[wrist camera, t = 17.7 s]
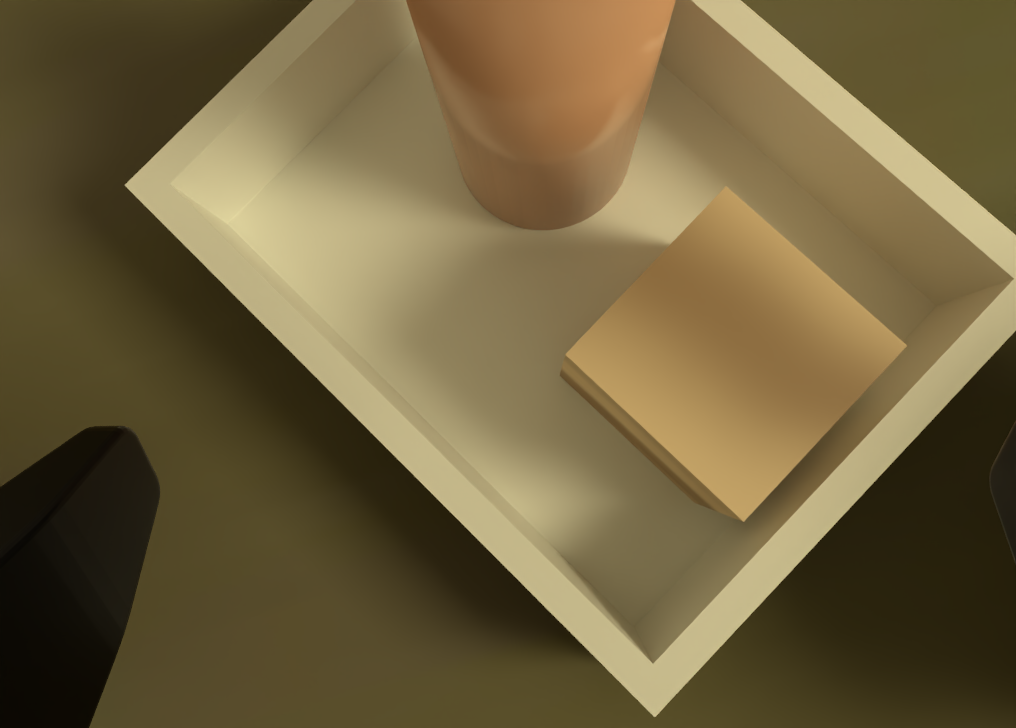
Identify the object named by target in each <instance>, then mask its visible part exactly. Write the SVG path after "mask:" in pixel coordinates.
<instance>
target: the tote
mask: <svg viewBox="0 0 1016 728" xmlns="http://www.w3.org/2000/svg"><path fill="white" fill-rule="evenodd" d="M125 186H126V187H127V188H128V189H129V190H130V191H131V192H132V193H133V194H134V195H135V196H136V197H137V198H138V199H139V200H140V201H141V202H142V203H143V204H144V205H145V206H146V207H147V208H148V209H149V210H150V211H151V212H152V213H153V214H154V215H155V216H156V217H157V218H158V219H159V220H160V221H161V222H162V223H163V224H164V225H165V226H166V227H167V228H168V229H169V230H170V231H171V232H172V233H173V234H174V235H175V236H176V237H177V238H178V239H179V240H180V241H181V242H182V243H183V244H184V245H185V246H186V247H187V248H188V249H189V250H190V251H191V252H192V253H193V254H194V255H195V256H196V257H197V258H198V259H199V260H200V261H201V262H202V263H203V265H204V266H205V267H206V268H207V269H208V270H209V271H210V272H211V273H212V274H213V275H214V276H215V277H216V278H217V279H218V280H219V281H220V282H221V283H222V284H223V285H224V286H225V287H226V288H227V289H228V290H229V291H230V292H231V293H232V294H233V295H234V296H235V297H236V298H237V299H238V300H239V301H240V302H241V303H242V304H243V305H244V306H245V307H246V308H247V309H248V310H249V311H250V312H251V313H252V314H253V315H254V316H255V317H256V318H257V319H258V320H259V321H260V322H261V323H262V324H263V325H264V326H265V327H266V328H267V329H268V330H269V331H270V332H271V333H272V334H273V335H274V336H275V337H276V338H277V339H278V340H279V341H280V342H281V343H282V344H283V345H284V346H285V347H286V348H287V349H288V350H289V351H290V352H291V353H292V354H293V355H294V356H295V357H296V358H297V359H298V360H299V361H300V362H301V363H302V364H303V365H304V366H305V367H306V368H307V369H308V370H309V371H310V372H311V373H312V374H313V375H314V376H315V377H316V378H317V379H318V380H319V381H320V382H321V383H322V384H323V385H324V386H325V387H326V388H327V389H328V390H329V391H330V392H331V393H332V394H333V395H334V396H335V397H336V398H337V399H338V400H339V401H340V402H341V403H342V404H343V405H344V406H345V407H346V408H347V409H348V410H349V411H350V412H351V413H352V414H353V415H354V416H355V417H356V418H357V419H358V420H359V421H360V422H361V423H362V424H363V425H364V426H365V427H366V428H367V429H368V430H369V431H370V432H371V433H372V434H373V435H374V436H375V437H376V438H377V439H378V440H379V441H380V442H381V443H382V444H383V445H384V446H385V447H386V448H387V449H388V450H389V451H390V452H391V453H392V454H393V455H394V456H395V457H396V458H397V459H398V460H399V461H400V462H401V463H402V464H403V465H404V466H405V467H406V468H407V469H408V470H409V471H410V472H411V473H412V474H413V475H414V476H415V477H416V478H417V479H418V480H419V481H420V482H421V483H422V484H423V485H424V486H425V487H426V488H427V489H428V490H429V491H430V492H431V493H432V494H433V495H434V496H435V497H436V498H437V499H438V500H439V501H440V502H441V503H442V504H443V505H444V506H445V507H446V508H447V509H448V510H449V511H450V512H451V513H452V514H453V515H454V516H455V517H456V518H457V519H458V520H459V521H460V522H461V523H462V524H463V525H464V526H465V527H466V528H467V529H468V530H469V531H470V532H471V533H472V534H473V535H474V536H475V537H476V538H477V539H478V540H479V541H480V542H481V543H482V544H483V545H484V546H485V547H486V548H487V549H488V550H489V551H490V552H491V553H492V554H493V555H494V556H495V557H496V558H497V559H498V560H499V561H500V562H501V563H502V564H503V565H504V566H505V567H506V568H507V569H508V570H509V571H510V572H511V573H512V574H513V575H514V576H515V577H516V578H517V579H518V580H519V581H520V583H521V584H522V585H523V586H524V587H525V588H526V589H527V590H528V591H529V592H530V593H531V594H532V595H533V596H534V597H535V598H536V599H537V600H538V601H539V602H540V603H541V604H542V605H543V606H544V607H545V608H546V609H547V610H548V611H549V612H550V613H551V614H552V615H553V616H554V617H555V618H556V619H557V620H558V621H559V622H560V623H561V624H562V625H563V626H564V627H565V628H566V629H567V630H568V631H569V632H570V633H571V634H572V635H573V636H574V637H575V638H576V639H577V640H578V641H579V642H580V643H581V644H582V645H583V646H584V647H585V648H586V649H587V650H588V651H589V652H590V653H591V654H592V655H593V656H594V657H595V658H596V659H597V660H598V661H599V662H600V663H601V664H602V665H603V666H604V667H605V668H606V669H607V670H608V671H609V672H610V673H611V674H612V675H613V676H614V677H615V678H616V679H617V680H618V681H619V682H620V683H621V684H622V685H623V686H624V687H625V688H626V689H627V690H628V691H629V692H630V693H631V694H632V695H633V696H634V697H635V698H636V699H637V700H638V701H639V702H640V703H641V704H642V705H643V706H644V707H645V708H646V709H647V710H648V711H649V712H650V713H651V714H652V715H653V716H654V717H656V715H657V714H658V713H659V712H660V711H661V710H662V709H663V708H664V707H665V706H666V705H667V704H668V703H669V702H670V700H671V699H672V698H673V697H674V696H675V695H676V694H677V693H678V692H679V691H680V690H681V689H682V688H683V687H684V685H685V684H686V683H687V682H688V681H689V680H690V679H691V678H692V677H693V676H694V675H695V674H696V673H697V672H698V670H699V669H700V668H701V667H702V666H703V665H704V664H705V663H706V662H707V661H708V660H709V659H710V658H711V657H712V655H713V654H714V653H715V652H716V651H717V650H718V649H719V648H720V647H721V646H722V645H723V644H724V643H725V642H726V640H727V639H728V638H729V637H730V636H731V635H732V634H733V633H734V632H735V631H736V630H737V629H738V628H739V626H740V625H741V624H742V623H743V622H744V621H745V620H746V619H747V618H748V617H749V616H750V615H751V614H752V613H753V611H754V610H755V609H756V608H757V607H758V606H759V605H760V604H761V603H762V602H763V601H764V600H765V599H766V598H767V596H768V595H769V594H770V593H771V592H772V591H773V590H774V589H775V588H776V587H777V586H778V585H779V584H780V583H781V581H782V580H783V579H784V578H785V577H786V576H787V575H788V574H789V573H790V572H791V571H792V570H793V569H794V568H795V566H796V565H797V564H798V563H799V562H800V561H801V560H802V559H803V558H804V557H805V556H806V555H807V554H808V553H809V551H810V550H811V549H812V548H813V547H814V546H815V545H816V544H817V543H818V542H819V541H820V540H821V539H822V538H823V536H824V535H825V534H826V533H827V532H828V531H829V530H830V529H831V528H832V527H833V526H834V525H835V524H836V523H837V521H838V520H839V519H840V518H841V517H842V516H843V515H844V514H845V513H846V512H847V511H848V510H849V509H850V508H851V506H852V505H853V504H854V503H855V502H856V501H857V500H858V499H859V498H860V497H861V496H862V495H863V494H864V493H865V491H866V490H867V489H868V488H869V487H870V486H871V485H872V484H873V483H874V482H875V481H876V480H877V479H878V478H879V476H880V475H881V474H882V473H883V472H884V471H885V470H886V469H887V468H888V467H889V466H890V465H891V464H892V463H893V461H894V460H895V459H896V458H897V457H898V456H899V455H900V454H901V453H902V452H903V451H904V450H905V449H906V448H907V446H908V445H909V444H910V443H911V442H912V441H913V440H914V439H915V438H916V437H917V436H918V435H919V434H920V433H921V431H922V430H923V429H924V428H925V427H926V426H927V425H928V424H929V423H930V422H931V421H932V420H933V419H934V418H935V416H936V415H937V414H938V413H939V412H940V411H941V410H942V409H943V408H944V407H945V406H946V405H947V404H948V403H949V401H950V400H951V399H952V398H953V397H954V396H955V395H956V394H957V393H958V392H959V391H960V390H961V389H962V388H963V386H964V385H965V384H966V383H967V382H968V381H969V380H970V379H971V378H972V377H973V376H974V375H975V374H976V373H977V371H978V370H979V369H980V368H981V367H982V366H983V365H984V364H985V363H986V362H987V361H988V360H989V359H990V358H991V356H992V355H993V354H994V353H995V352H996V351H997V350H998V349H999V348H1000V347H1001V346H1002V345H1003V344H1004V343H1005V341H1006V340H1007V339H1008V338H1009V337H1010V336H1011V335H1012V334H1013V333H1014V332H1015V331H1016V235H1015V234H1014V233H1012V232H1011V231H1010V230H1009V229H1008V228H1007V227H1005V226H1004V225H1003V224H1002V223H1001V222H1000V221H998V220H997V219H996V218H995V217H994V216H992V215H991V214H990V213H989V212H988V211H987V210H985V209H984V208H983V207H982V206H981V205H980V204H978V203H977V202H976V201H975V200H974V199H973V198H971V197H970V196H969V195H968V194H967V193H966V192H964V191H963V190H962V189H961V188H960V187H959V186H957V185H956V184H955V183H954V182H953V181H952V180H950V179H949V178H948V177H947V176H946V175H944V174H943V173H942V172H941V171H940V170H939V169H937V168H936V167H935V166H934V165H933V164H932V163H930V162H929V161H928V160H927V159H926V158H925V157H923V156H922V155H921V154H920V153H919V152H918V151H916V150H915V149H914V148H913V147H912V146H911V145H909V144H908V143H907V142H906V141H905V140H904V139H902V138H901V137H900V136H899V135H898V134H896V133H895V132H894V131H893V130H892V129H891V128H889V127H888V126H887V125H886V124H885V123H884V122H882V121H881V120H880V119H879V118H878V117H877V116H875V115H874V114H873V113H872V112H871V111H870V110H868V109H867V108H866V107H865V106H864V105H863V104H861V103H860V102H859V101H858V100H857V99H856V98H854V97H853V96H852V95H851V94H850V93H848V92H847V91H846V90H845V89H844V88H843V87H841V86H840V85H839V84H838V83H837V82H836V81H834V80H833V79H832V78H831V77H830V76H829V75H827V74H826V73H825V72H824V71H823V70H822V69H820V68H819V67H818V66H817V65H816V64H815V63H813V62H812V61H811V60H810V59H809V58H807V57H806V56H805V55H804V54H803V53H802V52H800V51H799V50H798V49H797V48H796V47H795V46H793V45H792V44H791V43H790V42H789V41H788V40H786V39H785V38H784V37H783V36H782V35H781V34H779V33H778V32H777V31H776V30H775V29H774V28H772V27H771V26H770V25H769V24H768V23H767V22H765V21H764V20H763V19H762V18H761V17H759V16H758V15H757V14H756V13H755V12H754V11H752V10H751V9H750V8H749V7H748V6H747V5H745V4H744V3H743V2H742V1H741V0H676V1H675V4H674V8H673V11H672V15H671V19H670V22H669V26H668V29H667V33H666V36H665V40H664V43H663V47H662V51H661V54H660V58H659V61H658V65H657V68H656V72H655V76H654V79H653V83H652V86H651V90H650V93H649V97H648V100H647V104H646V108H645V111H644V115H643V118H642V122H641V125H640V129H639V133H638V136H637V140H636V143H635V147H634V150H633V154H632V157H631V161H630V165H629V168H628V171H627V174H626V176H625V179H624V181H623V183H622V185H621V186H620V188H619V190H618V191H617V193H616V194H615V195H614V197H613V198H612V199H611V200H610V201H609V202H608V203H607V204H606V205H605V206H604V207H603V208H602V209H601V210H600V211H598V212H597V213H596V214H594V215H593V216H591V217H589V218H588V219H586V220H584V221H582V222H580V223H577V224H575V225H572V226H569V227H565V228H561V229H554V230H532V229H525V228H521V227H517V226H514V225H511V224H509V223H507V222H504V221H502V220H500V219H499V218H497V217H495V216H494V215H492V214H491V213H490V212H488V211H487V210H486V209H485V208H483V206H482V205H481V204H480V203H479V202H478V201H477V200H476V199H475V198H474V196H473V195H472V194H471V192H470V191H469V189H468V187H467V185H466V184H465V182H464V179H463V177H462V174H461V171H460V168H459V165H458V162H457V159H456V156H455V153H454V149H453V146H452V143H451V140H450V137H449V134H448V131H447V128H446V124H445V121H444V118H443V115H442V112H441V109H440V106H439V102H438V99H437V96H436V93H435V90H434V87H433V84H432V80H431V77H430V74H429V71H428V68H427V65H426V62H425V59H424V55H423V52H422V49H421V46H420V43H419V40H418V37H417V33H416V30H415V27H414V24H413V21H412V18H411V15H410V11H409V8H408V5H407V2H406V0H313V1H312V2H311V3H309V4H308V5H307V6H306V7H305V8H304V9H303V10H302V11H301V12H300V13H299V14H298V15H297V16H296V17H295V18H294V19H293V20H292V21H291V22H290V23H289V24H288V25H287V26H286V27H285V28H284V29H283V30H282V31H281V32H280V33H279V34H278V35H277V36H276V37H275V38H274V39H273V40H272V41H271V42H270V43H269V44H268V45H267V46H266V47H265V48H264V49H263V50H262V51H261V52H260V53H259V54H258V55H257V56H256V57H254V58H253V59H252V60H251V61H250V62H249V63H248V64H247V65H246V66H245V67H244V68H243V69H242V70H241V71H240V72H239V73H238V74H237V75H236V76H235V77H234V78H233V79H232V80H231V81H230V82H229V83H228V84H227V85H226V86H225V87H224V88H223V89H222V90H221V91H220V92H219V93H218V94H217V95H216V96H215V97H214V98H213V99H212V100H211V101H210V102H209V103H208V104H207V105H206V106H205V107H204V108H203V109H202V110H201V111H200V112H198V113H197V114H196V115H195V116H194V117H193V118H192V119H191V120H190V121H189V122H188V123H187V124H186V125H185V126H184V127H183V128H182V129H181V130H180V131H179V132H178V133H177V134H176V135H175V136H174V137H173V138H172V139H171V140H170V141H169V142H168V143H167V144H166V145H165V146H164V147H163V148H162V149H161V150H160V151H159V152H158V153H157V154H156V155H155V156H154V157H153V158H152V159H151V160H150V161H149V162H148V163H147V164H146V165H145V166H143V167H142V168H141V169H140V170H139V171H138V172H137V173H136V174H135V175H134V176H133V177H132V178H131V179H130V180H129V181H128V182H127V183H126V184H125ZM726 186H727V187H728V188H729V189H730V190H731V191H732V192H733V193H734V194H736V195H737V196H738V197H739V198H740V199H741V200H742V201H744V202H745V203H746V204H747V205H748V206H749V207H750V208H752V209H753V210H754V211H755V212H756V213H757V214H758V215H759V216H761V217H762V218H763V219H764V220H765V221H766V222H767V223H769V224H770V225H771V226H772V227H773V228H774V229H775V230H777V231H778V232H779V233H780V234H781V235H782V236H783V237H784V238H786V239H787V240H788V241H789V242H790V243H791V244H792V245H794V246H795V247H796V248H797V249H798V250H799V251H800V252H802V253H803V254H804V255H805V256H806V257H807V258H808V259H809V260H811V261H812V262H813V263H814V264H815V265H816V266H817V267H819V268H820V269H821V270H822V271H823V272H824V273H825V274H827V275H828V276H829V277H830V278H831V279H832V280H833V281H834V282H836V283H837V284H838V285H839V286H840V287H841V288H842V289H844V290H845V291H846V292H847V293H848V294H849V295H850V296H852V297H853V298H854V299H855V300H856V301H857V302H858V303H859V304H861V305H862V306H863V307H864V308H865V309H866V310H867V311H869V312H870V313H871V314H872V315H873V316H874V317H875V318H877V319H878V320H879V321H880V322H881V323H882V324H883V325H885V326H886V327H887V328H888V329H889V330H890V331H891V332H892V333H894V334H895V335H896V336H897V337H898V338H899V339H900V340H902V341H903V342H904V343H905V344H906V345H907V347H906V348H905V349H904V350H903V351H902V352H901V353H900V354H899V355H898V356H897V357H896V359H895V360H894V361H893V362H892V363H891V364H890V365H889V366H888V367H887V368H886V369H885V370H884V371H883V373H882V374H881V375H880V376H879V377H878V378H877V379H876V380H875V381H874V382H873V383H872V384H871V385H870V387H869V388H868V389H867V390H866V391H865V392H864V393H863V394H862V395H861V396H860V397H859V398H858V399H857V401H856V402H855V403H854V404H853V405H852V406H851V407H850V408H849V409H848V410H847V411H846V412H845V413H844V415H843V416H842V417H841V418H840V419H839V420H838V421H837V422H836V423H835V424H834V425H833V426H832V427H831V429H830V430H829V431H828V432H827V433H826V434H825V435H824V436H823V437H822V438H821V439H820V440H819V441H818V443H817V444H816V445H815V446H814V447H813V448H812V449H811V450H810V451H809V452H808V453H807V454H806V455H805V457H804V458H803V459H802V460H801V461H800V462H799V463H798V464H797V465H796V466H795V467H794V468H793V469H792V471H791V472H790V473H789V474H788V475H787V476H786V477H785V478H784V479H783V480H782V481H781V482H780V483H779V485H778V486H777V487H776V488H775V489H774V490H773V491H772V492H771V493H770V494H769V495H768V496H767V497H766V499H765V500H764V501H763V502H762V503H761V504H760V505H759V506H758V507H757V508H756V509H755V510H754V511H753V513H752V514H751V515H750V516H749V517H748V518H747V519H746V520H745V521H744V522H742V521H740V520H737V519H735V518H732V517H730V516H727V515H724V514H722V513H719V512H717V511H714V510H712V509H709V508H707V507H704V506H701V505H699V504H696V503H694V502H693V501H692V500H691V499H690V498H689V497H688V496H687V495H686V494H685V493H684V492H682V491H681V490H680V489H679V488H678V487H677V486H676V485H675V484H674V483H673V482H672V481H671V480H670V479H669V478H668V477H667V476H666V475H664V474H663V473H662V472H661V471H660V470H659V469H658V468H657V467H656V466H655V465H654V464H653V463H652V462H651V461H650V460H649V459H647V458H646V457H645V456H644V455H643V454H642V453H641V452H640V451H639V450H638V449H637V448H636V447H635V446H634V445H633V444H632V443H631V442H629V441H628V440H627V439H626V438H625V437H624V436H623V435H622V434H621V433H620V432H619V431H618V430H617V429H616V428H615V427H614V426H613V425H611V424H610V423H609V422H608V421H607V420H606V419H605V418H604V417H603V416H602V415H601V414H600V413H599V412H598V411H597V410H596V409H595V408H593V407H592V406H591V405H590V404H589V403H588V402H587V401H586V400H585V399H584V398H583V397H582V396H581V395H580V394H579V393H578V392H576V391H575V390H574V389H573V388H572V387H571V386H570V385H569V384H568V383H567V382H566V381H565V380H564V379H563V378H562V377H561V376H560V372H561V368H562V364H563V361H564V357H565V354H566V353H567V352H568V351H569V350H570V349H571V348H572V347H573V346H574V345H575V344H576V343H577V341H578V340H579V339H580V338H581V337H582V336H583V335H584V334H585V333H586V332H587V331H588V330H589V329H590V328H591V327H592V326H593V325H594V324H595V323H596V322H597V321H598V320H599V318H600V317H601V316H602V315H603V314H604V313H605V312H606V311H607V310H608V309H609V308H610V307H611V306H612V305H613V304H614V303H615V302H616V301H617V300H618V299H619V298H620V296H621V295H622V294H623V293H624V292H625V291H626V290H627V289H628V288H629V287H630V286H631V285H632V284H633V283H634V282H635V281H636V280H637V279H638V278H639V277H640V276H641V275H642V273H643V272H644V271H645V270H646V269H647V268H648V267H649V266H650V265H651V264H652V263H653V262H654V261H655V260H656V259H657V258H658V257H659V256H660V255H661V254H662V253H663V252H664V250H665V249H666V248H667V247H668V246H669V245H670V244H671V243H672V242H673V241H674V240H675V239H676V238H677V237H678V236H679V235H680V234H681V233H682V232H683V231H684V230H685V228H686V227H687V226H688V225H689V224H690V223H691V222H692V221H693V220H694V219H695V218H696V217H697V216H698V215H699V214H700V213H701V212H702V211H703V210H704V209H705V208H706V207H707V205H708V204H709V203H710V202H711V201H712V200H713V199H714V198H715V197H716V196H717V195H718V194H719V193H720V192H721V191H722V190H723V189H724V188H725V187H726Z"/></svg>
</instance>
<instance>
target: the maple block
mask: <svg viewBox="0 0 1016 728" xmlns="http://www.w3.org/2000/svg"><path fill="white" fill-rule="evenodd" d="M906 347H907V345H906V344H905V343H904V342H903V341H902V340H900V339H899V338H898V337H897V336H896V335H895V334H894V333H892V332H891V331H890V330H889V329H888V328H887V327H886V326H885V325H883V324H882V323H881V322H880V321H879V320H878V319H877V318H875V317H874V316H873V315H872V314H871V313H870V312H869V311H867V310H866V309H865V308H864V307H863V306H862V305H861V304H859V303H858V302H857V301H856V300H855V299H854V298H853V297H852V296H850V295H849V294H848V293H847V292H846V291H845V290H844V289H842V288H841V287H840V286H839V285H838V284H837V283H836V282H834V281H833V280H832V279H831V278H830V277H829V276H828V275H827V274H825V273H824V272H823V271H822V270H821V269H820V268H819V267H817V266H816V265H815V264H814V263H813V262H812V261H811V260H809V259H808V258H807V257H806V256H805V255H804V254H803V253H802V252H800V251H799V250H798V249H797V248H796V247H795V246H794V245H792V244H791V243H790V242H789V241H788V240H787V239H786V238H784V237H783V236H782V235H781V234H780V233H779V232H778V231H777V230H775V229H774V228H773V227H772V226H771V225H770V224H769V223H767V222H766V221H765V220H764V219H763V218H762V217H761V216H759V215H758V214H757V213H756V212H755V211H754V210H753V209H752V208H750V207H749V206H748V205H747V204H746V203H745V202H744V201H742V200H741V199H740V198H739V197H738V196H737V195H736V194H734V193H733V192H732V191H731V190H730V189H729V188H728V187H727V186H726V187H725V188H724V189H723V190H722V191H721V192H720V193H719V194H718V195H717V196H716V197H715V198H714V199H713V200H712V201H711V202H710V203H709V204H708V205H707V207H706V208H705V209H704V210H703V211H702V212H701V213H700V214H699V215H698V216H697V217H696V218H695V219H694V220H693V221H692V222H691V223H690V224H689V225H688V226H687V227H686V228H685V230H684V231H683V232H682V233H681V234H680V235H679V236H678V237H677V238H676V239H675V240H674V241H673V242H672V243H671V244H670V245H669V246H668V247H667V248H666V249H665V250H664V252H663V253H662V254H661V255H660V256H659V257H658V258H657V259H656V260H655V261H654V262H653V263H652V264H651V265H650V266H649V267H648V268H647V269H646V270H645V271H644V272H643V273H642V275H641V276H640V277H639V278H638V279H637V280H636V281H635V282H634V283H633V284H632V285H631V286H630V287H629V288H628V289H627V290H626V291H625V292H624V293H623V294H622V295H621V296H620V298H619V299H618V300H617V301H616V302H615V303H614V304H613V305H612V306H611V307H610V308H609V309H608V310H607V311H606V312H605V313H604V314H603V315H602V316H601V317H600V318H599V320H598V321H597V322H596V323H595V324H594V325H593V326H592V327H591V328H590V329H589V330H588V331H587V332H586V333H585V334H584V335H583V336H582V337H581V338H580V339H579V340H578V341H577V343H576V344H575V345H574V346H573V347H572V348H571V349H570V350H569V351H568V352H567V353H566V354H565V357H564V361H563V364H562V368H561V372H560V376H561V377H562V378H563V379H564V380H565V381H566V382H567V383H568V384H569V385H570V386H571V387H572V388H573V389H574V390H575V391H576V392H578V393H579V394H580V395H581V396H582V397H583V398H584V399H585V400H586V401H587V402H588V403H589V404H590V405H591V406H592V407H593V408H595V409H596V410H597V411H598V412H599V413H600V414H601V415H602V416H603V417H604V418H605V419H606V420H607V421H608V422H609V423H610V424H611V425H613V426H614V427H615V428H616V429H617V430H618V431H619V432H620V433H621V434H622V435H623V436H624V437H625V438H626V439H627V440H628V441H629V442H631V443H632V444H633V445H634V446H635V447H636V448H637V449H638V450H639V451H640V452H641V453H642V454H643V455H644V456H645V457H646V458H647V459H649V460H650V461H651V462H652V463H653V464H654V465H655V466H656V467H657V468H658V469H659V470H660V471H661V472H662V473H663V474H664V475H666V476H667V477H668V478H669V479H670V480H671V481H672V482H673V483H674V484H675V485H676V486H677V487H678V488H679V489H680V490H681V491H682V492H684V493H685V494H686V495H687V496H688V497H689V498H690V499H691V500H692V501H693V502H694V503H696V504H699V505H701V506H704V507H707V508H709V509H712V510H714V511H717V512H719V513H722V514H724V515H727V516H730V517H732V518H735V519H737V520H740V521H742V522H744V521H745V520H746V519H747V518H748V517H749V516H750V515H751V514H752V513H753V511H754V510H755V509H756V508H757V507H758V506H759V505H760V504H761V503H762V502H763V501H764V500H765V499H766V497H767V496H768V495H769V494H770V493H771V492H772V491H773V490H774V489H775V488H776V487H777V486H778V485H779V483H780V482H781V481H782V480H783V479H784V478H785V477H786V476H787V475H788V474H789V473H790V472H791V471H792V469H793V468H794V467H795V466H796V465H797V464H798V463H799V462H800V461H801V460H802V459H803V458H804V457H805V455H806V454H807V453H808V452H809V451H810V450H811V449H812V448H813V447H814V446H815V445H816V444H817V443H818V441H819V440H820V439H821V438H822V437H823V436H824V435H825V434H826V433H827V432H828V431H829V430H830V429H831V427H832V426H833V425H834V424H835V423H836V422H837V421H838V420H839V419H840V418H841V417H842V416H843V415H844V413H845V412H846V411H847V410H848V409H849V408H850V407H851V406H852V405H853V404H854V403H855V402H856V401H857V399H858V398H859V397H860V396H861V395H862V394H863V393H864V392H865V391H866V390H867V389H868V388H869V387H870V385H871V384H872V383H873V382H874V381H875V380H876V379H877V378H878V377H879V376H880V375H881V374H882V373H883V371H884V370H885V369H886V368H887V367H888V366H889V365H890V364H891V363H892V362H893V361H894V360H895V359H896V357H897V356H898V355H899V354H900V353H901V352H902V351H903V350H904V349H905V348H906Z"/></svg>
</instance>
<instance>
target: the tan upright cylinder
mask: <svg viewBox="0 0 1016 728" xmlns="http://www.w3.org/2000/svg"><path fill="white" fill-rule="evenodd" d="M675 1H676V0H406V2H407V5H408V8H409V11H410V15H411V18H412V21H413V24H414V27H415V30H416V33H417V37H418V40H419V43H420V46H421V49H422V52H423V55H424V59H425V62H426V65H427V68H428V71H429V74H430V77H431V80H432V84H433V87H434V90H435V93H436V96H437V99H438V102H439V106H440V109H441V112H442V115H443V118H444V121H445V124H446V128H447V131H448V134H449V137H450V140H451V143H452V146H453V149H454V153H455V156H456V159H457V162H458V165H459V168H460V171H461V174H462V177H463V179H464V182H465V184H466V185H467V187H468V189H469V191H470V192H471V194H472V195H473V196H474V198H475V199H476V200H477V201H478V202H479V203H480V204H481V205H482V206H483V208H485V209H486V210H487V211H488V212H490V213H491V214H492V215H494V216H495V217H497V218H499V219H500V220H502V221H504V222H507V223H509V224H511V225H514V226H517V227H521V228H525V229H532V230H554V229H561V228H565V227H569V226H572V225H575V224H577V223H580V222H582V221H584V220H586V219H588V218H589V217H591V216H593V215H594V214H596V213H597V212H598V211H600V210H601V209H602V208H603V207H604V206H605V205H606V204H607V203H608V202H609V201H610V200H611V199H612V198H613V197H614V195H615V194H616V193H617V191H618V190H619V188H620V186H621V185H622V183H623V181H624V179H625V176H626V174H627V171H628V168H629V165H630V161H631V157H632V154H633V150H634V147H635V143H636V140H637V136H638V133H639V129H640V125H641V122H642V118H643V115H644V111H645V108H646V104H647V100H648V97H649V93H650V90H651V86H652V83H653V79H654V76H655V72H656V68H657V65H658V61H659V58H660V54H661V51H662V47H663V43H664V40H665V36H666V33H667V29H668V26H669V22H670V19H671V15H672V11H673V8H674V4H675Z"/></svg>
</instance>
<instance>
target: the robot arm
mask: <svg viewBox="0 0 1016 728" xmlns="http://www.w3.org/2000/svg"><path fill="white" fill-rule="evenodd" d="M989 484H990V490H991V494H992V497H993V500H994V503H995V506H996V509H997V512H998V515H999V517H1000V520H1001V523H1002V526H1003V529H1004V532H1005V535H1006V538H1007V541H1008V543H1009V546H1010V549H1011V552H1012V555H1013V558H1014V561H1015V564H1016V421H1015V423H1014V425H1013V427H1012V429H1011V430H1010V432H1009V434H1008V436H1007V438H1006V440H1005V442H1004V444H1003V446H1002V448H1001V450H1000V452H999V453H998V455H997V457H996V459H995V461H994V463H993V465H992V467H991V471H990V476H989ZM159 498H160V486H159V481H158V478H157V475H156V473H155V471H154V469H153V467H152V465H151V463H150V461H149V459H148V457H147V455H146V453H145V451H144V449H143V447H142V445H141V443H140V440H139V438H138V436H137V435H136V433H135V432H134V431H133V430H132V429H130V428H129V427H125V426H94V427H89V428H86V429H84V430H83V431H81V432H79V433H78V434H77V435H75V436H74V437H72V438H71V439H69V440H68V441H66V442H65V443H64V444H62V445H61V446H59V447H58V448H56V449H55V450H53V451H52V452H50V453H49V454H48V455H46V456H45V457H43V458H42V459H40V460H39V461H37V462H36V463H35V464H33V465H32V466H30V467H29V468H27V469H26V470H24V471H23V472H21V473H20V474H19V475H17V476H16V477H14V478H13V479H11V480H10V481H8V482H7V483H5V484H4V485H3V486H1V487H0V728H89V726H90V724H91V721H92V718H93V716H94V713H95V711H96V708H97V705H98V703H99V700H100V697H101V695H102V692H103V689H104V687H105V684H106V682H107V679H108V676H109V674H110V671H111V668H112V666H113V663H114V660H115V658H116V655H117V652H118V649H119V647H120V644H121V641H122V638H123V635H124V632H125V629H126V625H127V622H128V619H129V615H130V612H131V608H132V604H133V600H134V596H135V592H136V589H137V585H138V581H139V577H140V573H141V569H142V565H143V562H144V558H145V554H146V550H147V546H148V542H149V538H150V534H151V531H152V527H153V523H154V519H155V515H156V511H157V507H158V503H159Z"/></svg>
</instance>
